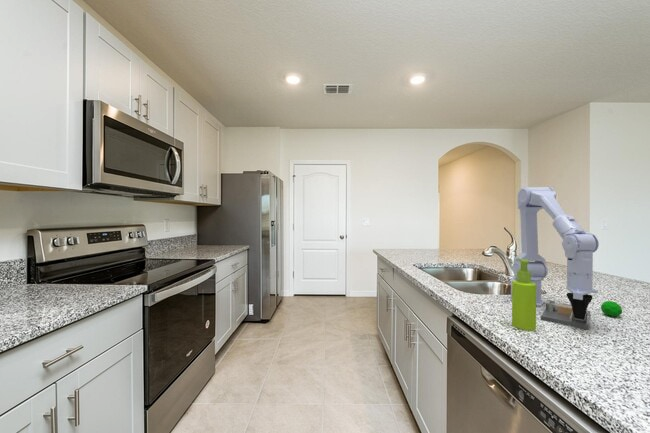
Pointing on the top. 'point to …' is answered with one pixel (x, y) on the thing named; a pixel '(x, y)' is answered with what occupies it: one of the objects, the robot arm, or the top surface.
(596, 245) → the robot arm
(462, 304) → the top surface
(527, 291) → the soap dispenser
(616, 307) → the polyhedron
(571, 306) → the grey flat bar
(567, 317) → the mount board
